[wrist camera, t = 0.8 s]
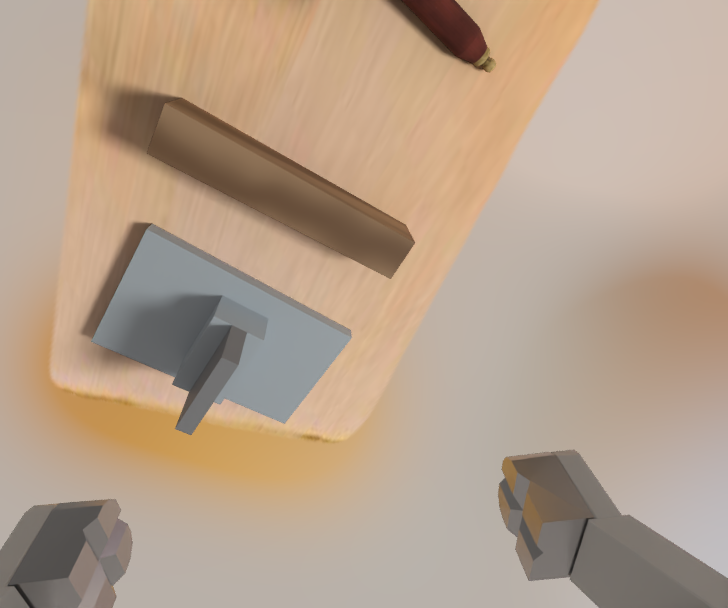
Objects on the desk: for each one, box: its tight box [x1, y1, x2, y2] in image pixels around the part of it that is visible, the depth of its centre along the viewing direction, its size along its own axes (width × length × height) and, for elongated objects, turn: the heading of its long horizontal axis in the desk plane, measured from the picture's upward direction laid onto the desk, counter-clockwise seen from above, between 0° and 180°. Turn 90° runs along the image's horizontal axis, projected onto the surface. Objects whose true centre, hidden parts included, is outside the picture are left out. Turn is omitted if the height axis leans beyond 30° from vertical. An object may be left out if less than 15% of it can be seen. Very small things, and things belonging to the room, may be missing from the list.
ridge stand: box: [91, 224, 352, 435], centre depth 42 cm, size 14×22×10 cm, turn 55°
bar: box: [147, 98, 415, 279], centre depth 38 cm, size 4×22×5 cm, turn 59°
